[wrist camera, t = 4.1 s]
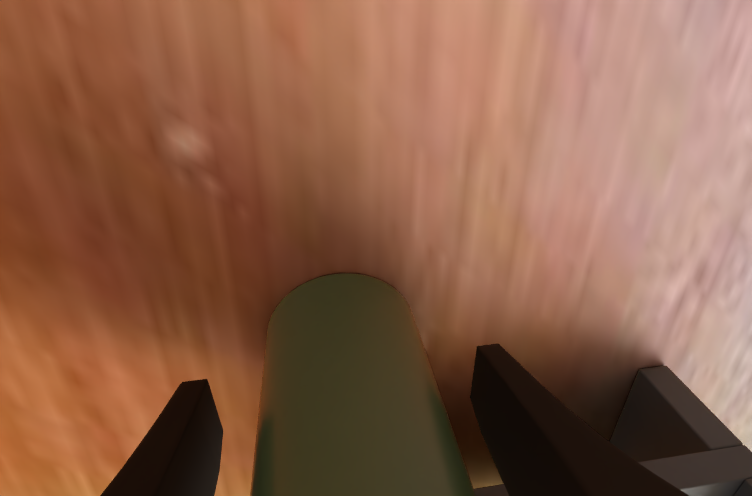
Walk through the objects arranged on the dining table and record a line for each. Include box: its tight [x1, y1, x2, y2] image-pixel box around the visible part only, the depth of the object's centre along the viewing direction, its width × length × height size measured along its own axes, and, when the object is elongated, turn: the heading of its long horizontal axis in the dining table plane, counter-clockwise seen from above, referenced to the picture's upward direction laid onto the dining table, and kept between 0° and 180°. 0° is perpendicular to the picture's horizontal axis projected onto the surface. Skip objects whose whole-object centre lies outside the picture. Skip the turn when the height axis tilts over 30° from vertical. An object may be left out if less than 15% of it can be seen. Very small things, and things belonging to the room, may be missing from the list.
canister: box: [250, 273, 475, 496], centre depth 10 cm, size 5×5×8 cm
